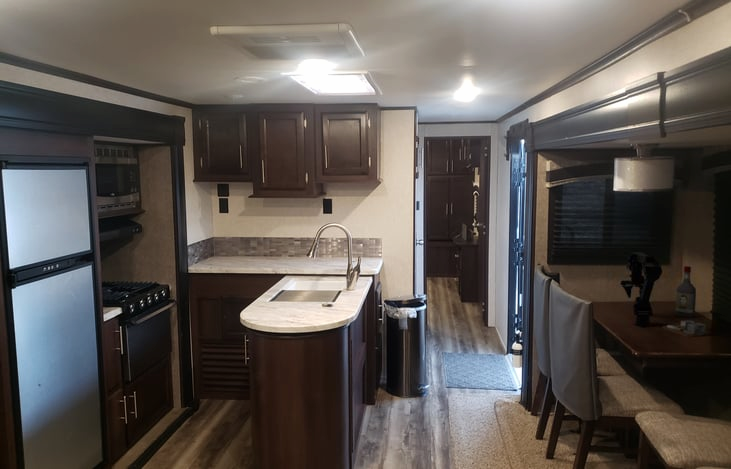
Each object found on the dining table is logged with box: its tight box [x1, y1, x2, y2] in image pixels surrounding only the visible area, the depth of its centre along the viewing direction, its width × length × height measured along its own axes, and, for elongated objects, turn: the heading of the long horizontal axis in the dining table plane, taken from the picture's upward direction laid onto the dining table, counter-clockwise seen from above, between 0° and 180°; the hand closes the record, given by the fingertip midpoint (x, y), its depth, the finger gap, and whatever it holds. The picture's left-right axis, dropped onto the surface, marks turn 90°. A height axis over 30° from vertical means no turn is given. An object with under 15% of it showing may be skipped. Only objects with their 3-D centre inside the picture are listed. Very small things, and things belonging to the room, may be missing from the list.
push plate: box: [677, 319, 695, 330], centre depth 287 cm, size 10×3×4 cm, turn 107°
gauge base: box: [662, 322, 709, 338], centre depth 288 cm, size 14×16×6 cm
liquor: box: [674, 265, 697, 318], centre depth 321 cm, size 9×9×30 cm
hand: (635, 299), depth 313 cm, fingers open, 9 cm apart
